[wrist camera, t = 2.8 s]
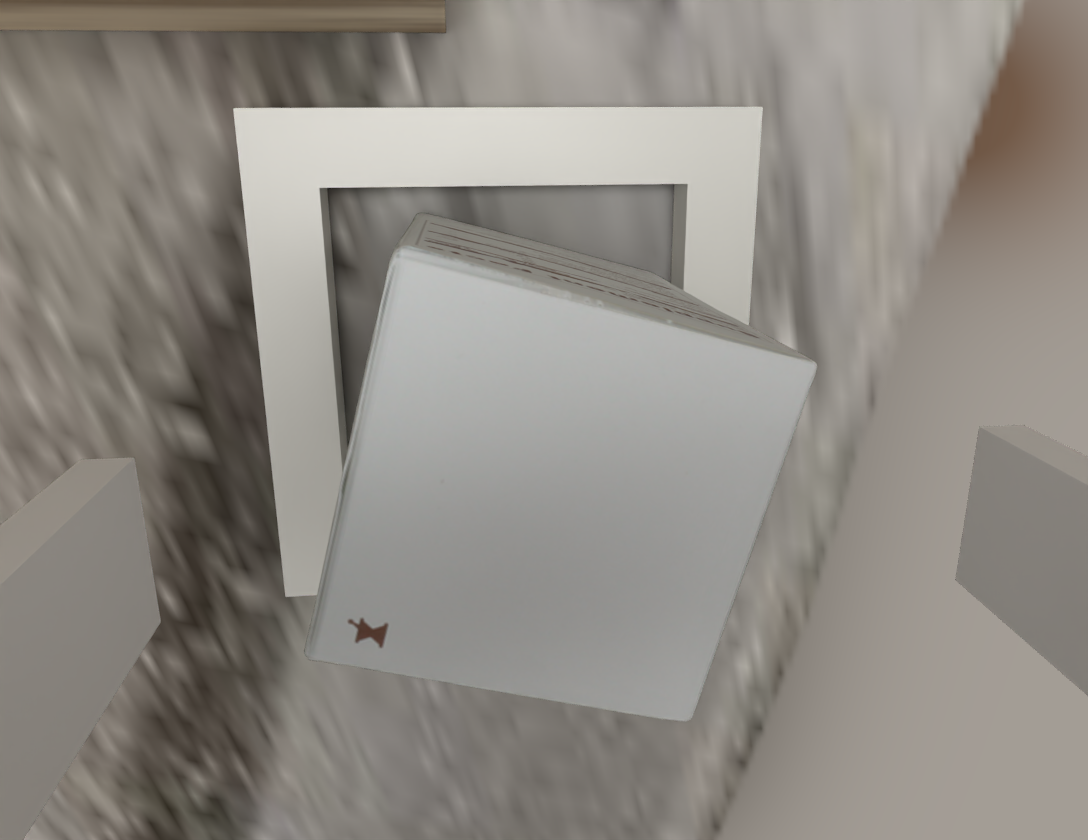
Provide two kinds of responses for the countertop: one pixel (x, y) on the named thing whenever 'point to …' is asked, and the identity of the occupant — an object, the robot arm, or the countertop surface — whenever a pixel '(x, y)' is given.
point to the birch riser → (225, 15)
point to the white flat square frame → (436, 161)
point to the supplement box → (550, 476)
